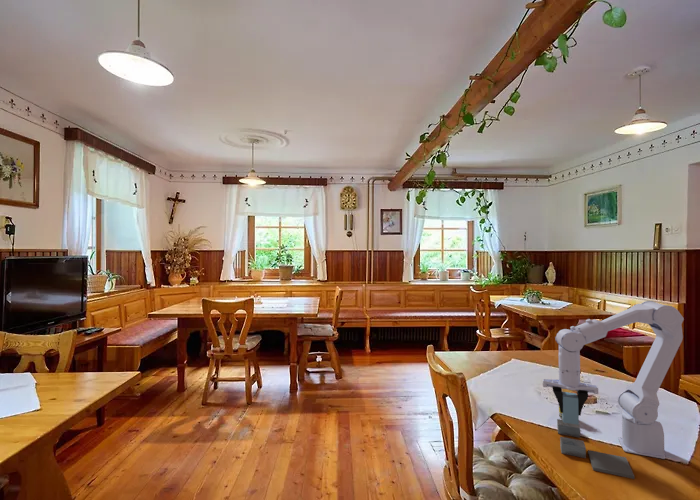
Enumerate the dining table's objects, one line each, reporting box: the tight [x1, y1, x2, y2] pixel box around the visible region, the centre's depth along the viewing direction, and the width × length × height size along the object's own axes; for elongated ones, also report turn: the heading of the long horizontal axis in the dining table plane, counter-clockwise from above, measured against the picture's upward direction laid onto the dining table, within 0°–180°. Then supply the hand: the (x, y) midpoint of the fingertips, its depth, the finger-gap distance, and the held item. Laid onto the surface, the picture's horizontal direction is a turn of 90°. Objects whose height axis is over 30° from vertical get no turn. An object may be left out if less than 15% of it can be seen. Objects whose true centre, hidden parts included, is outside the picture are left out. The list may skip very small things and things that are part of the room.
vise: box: [556, 418, 587, 459], centre depth 112 cm, size 6×19×3 cm, turn 154°
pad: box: [587, 449, 635, 480], centre depth 99 cm, size 9×9×1 cm
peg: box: [562, 391, 580, 426], centre depth 111 cm, size 4×4×8 cm
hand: (570, 412), depth 111 cm, fingers closed on peg, 4 cm apart
